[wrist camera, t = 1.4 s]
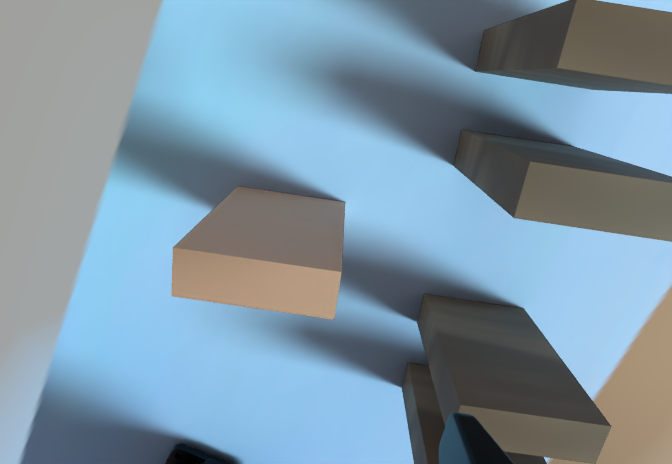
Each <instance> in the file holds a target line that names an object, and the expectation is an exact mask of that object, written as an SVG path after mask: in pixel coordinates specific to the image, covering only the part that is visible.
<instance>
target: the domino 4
mask: <svg viewBox="0 0 672 464" xmlns="http://www.w3.org/2000/svg"><path fill="white" fill-rule="evenodd" d="M453 166H454V167H455V168H457V169H458V170H459V171H460V172H461V173H462V174H464V175H465V176H466V177H467V178H468V179H469V180H471V181H472V182H473V183H474V184H475V185H476V186H478V187H479V188H480V189H481V190H482V191H483V192H484V193H486V194H487V195H488V196H489V197H490V198H491V199H493V200H494V201H495V202H496V203H497V204H498V205H500V206H501V207H502V208H503V209H504V210H505V211H507V212H508V213H509V214H510V215H511V216H512V217H513V218H518V219H524V220H531V221H538V222H544V223H551V224H558V225H564V226H571V227H578V228H584V229H591V230H598V231H604V232H611V233H618V234H624V235H631V236H638V237H644V238H651V239H658V240H664V241H671V242H672V177H671V176H668V175H665V174H661V173H658V172H655V171H652V170H648V169H645V168H642V167H639V166H635V165H632V164H629V163H626V162H622V161H619V160H616V159H613V158H609V157H606V156H603V155H600V154H596V153H593V152H590V151H587V150H584V149H580V148H577V147H573V146H566V145H560V144H553V143H547V142H540V141H534V140H527V139H521V138H514V137H508V136H501V135H494V134H488V133H481V132H475V131H468V130H462V131H461V135H460V139H459V144H458V148H457V152H456V157H455V161H454V165H453Z"/></svg>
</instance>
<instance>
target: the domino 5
mask: <svg viewBox="0 0 672 464" xmlns="http://www.w3.org/2000/svg"><path fill="white" fill-rule="evenodd" d="M475 72H482V73H488V74H495V75H501V76H507V77H514V78H520V79H527V80H533V81H540V82H546V83H553V84H559V85H566V86H572V87H578V88H585V89H591V90H608V91H628V92H647V93H666V94H672V12H666V11H660V10H653V9H647V8H641V7H634V6H628V5H622V4H615V3H609V2H603V1H596V0H569V1H566V2H563V3H560V4H557V5H555V6H552V7H549V8H546V9H543V10H540V11H538V12H535V13H532V14H529V15H526V16H523V17H521V18H518V19H515V20H512V21H509V22H506V23H504V24H501V25H498V26H495V27H492V28H489V29H487V30H485V31H484V35H483V40H482V44H481V48H480V53H479V57H478V61H477V66H476V70H475Z"/></svg>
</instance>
